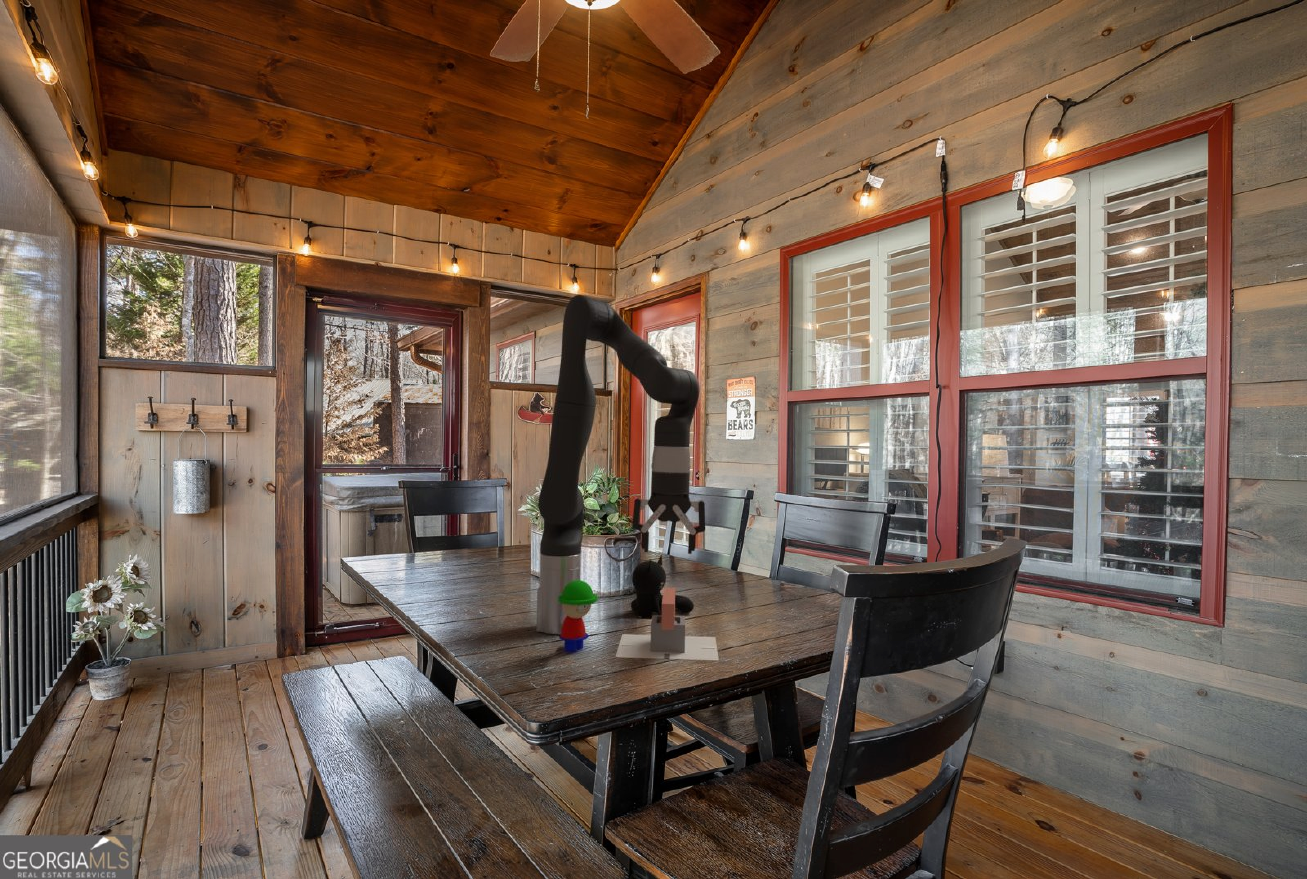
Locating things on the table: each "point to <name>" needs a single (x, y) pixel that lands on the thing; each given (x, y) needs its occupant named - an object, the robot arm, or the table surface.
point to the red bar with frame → (668, 627)
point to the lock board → (642, 646)
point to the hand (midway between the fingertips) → (667, 552)
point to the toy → (575, 613)
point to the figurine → (653, 590)
